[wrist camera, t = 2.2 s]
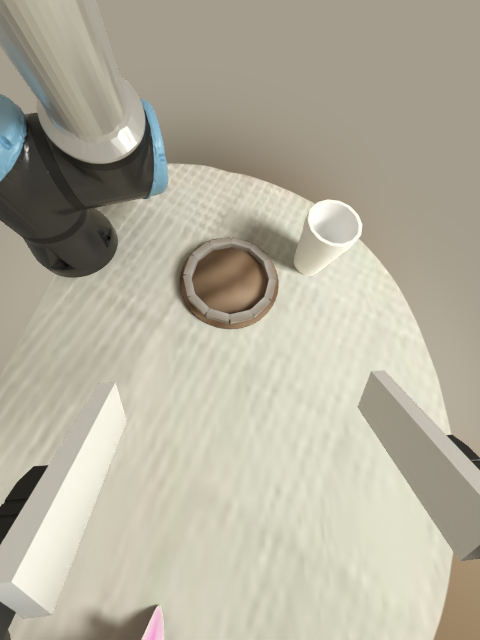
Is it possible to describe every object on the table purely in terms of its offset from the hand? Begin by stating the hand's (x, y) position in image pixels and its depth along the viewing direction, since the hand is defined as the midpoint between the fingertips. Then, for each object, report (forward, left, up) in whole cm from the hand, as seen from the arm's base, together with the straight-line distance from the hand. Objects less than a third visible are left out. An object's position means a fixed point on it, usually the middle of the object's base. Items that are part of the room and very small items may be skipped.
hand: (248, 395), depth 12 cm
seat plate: (-15, +15, -32) cm, 38 cm away
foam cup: (-7, +31, -32) cm, 45 cm away
